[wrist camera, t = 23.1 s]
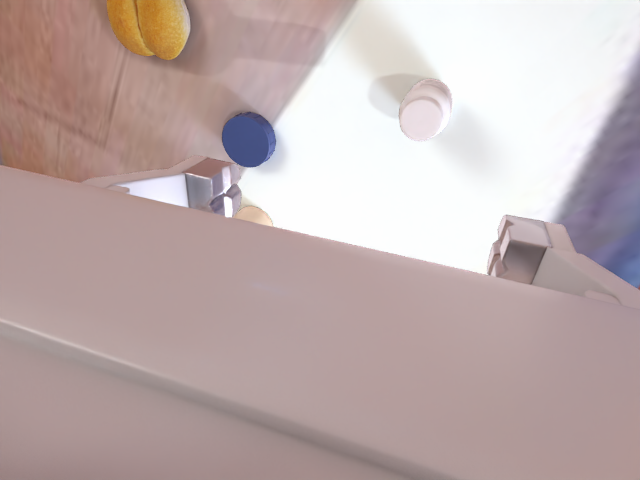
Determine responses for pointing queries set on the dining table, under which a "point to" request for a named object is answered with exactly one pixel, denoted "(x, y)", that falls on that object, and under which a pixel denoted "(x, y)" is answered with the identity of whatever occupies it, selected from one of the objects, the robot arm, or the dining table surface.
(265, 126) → the lid
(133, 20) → the bread roll
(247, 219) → the beige cylinder
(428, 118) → the pill bottle
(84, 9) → the dining table surface
